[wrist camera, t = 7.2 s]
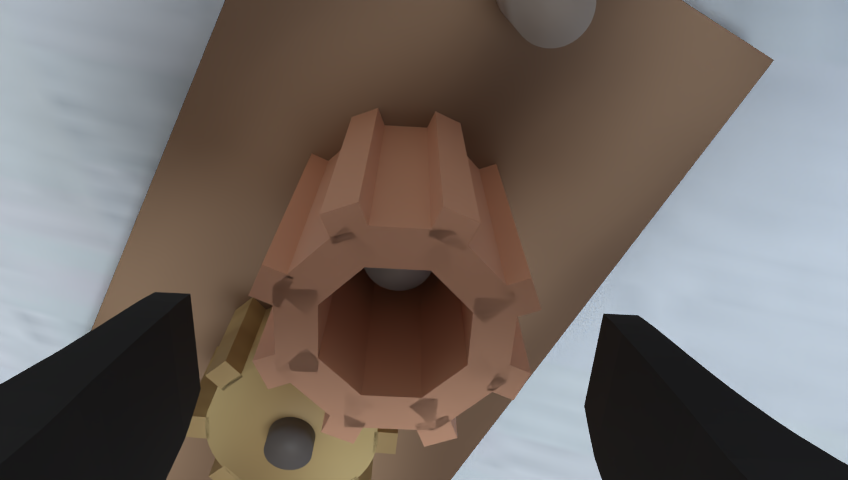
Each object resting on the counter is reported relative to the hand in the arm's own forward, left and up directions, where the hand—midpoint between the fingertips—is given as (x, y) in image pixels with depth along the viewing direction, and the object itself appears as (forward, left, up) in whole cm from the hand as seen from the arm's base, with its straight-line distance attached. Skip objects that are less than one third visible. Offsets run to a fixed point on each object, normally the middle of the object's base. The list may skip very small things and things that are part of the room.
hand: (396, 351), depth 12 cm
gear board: (0, +2, -8) cm, 8 cm away
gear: (0, 0, -7) cm, 7 cm away
